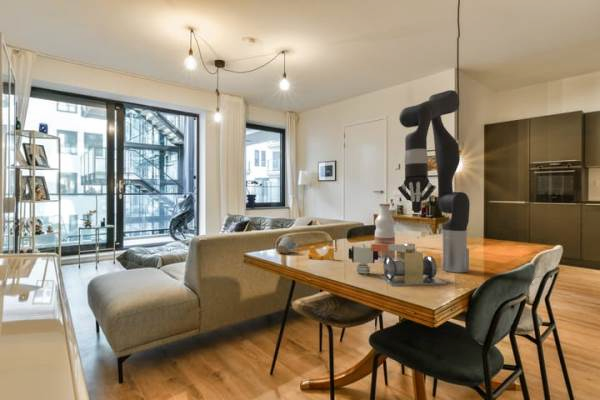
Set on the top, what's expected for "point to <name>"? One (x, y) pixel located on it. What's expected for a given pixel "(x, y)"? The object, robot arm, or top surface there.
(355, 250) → the pneumatic valve
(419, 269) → the valve body
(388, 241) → the fruit juice
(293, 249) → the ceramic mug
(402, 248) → the lever
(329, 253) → the pipe clamp
